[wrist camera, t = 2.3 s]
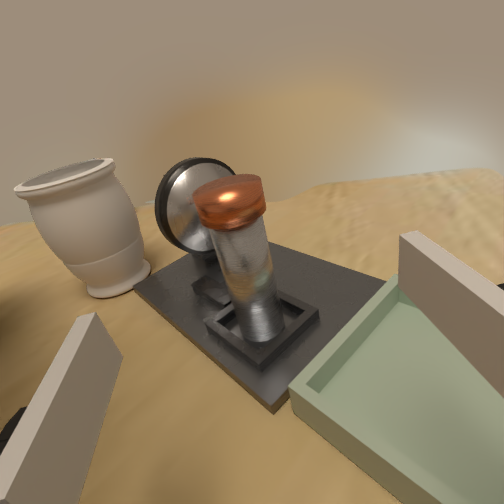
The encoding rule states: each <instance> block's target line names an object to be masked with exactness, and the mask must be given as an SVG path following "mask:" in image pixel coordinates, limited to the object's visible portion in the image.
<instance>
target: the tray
mask: <svg viewBox="0 0 504 504" xmlns="http://www.w3.org/2000/svg"><path fill="white" fill-rule="evenodd" d="M288 390H289V394H290V399H291V403H292V407H293V412H294V414H296V415H297V416H298V417H299V418H300V419H302V420H303V421H304V422H305V423H306V424H308V425H309V426H310V427H311V428H312V429H314V430H315V431H316V432H317V433H319V434H320V435H321V436H322V437H323V438H325V439H326V440H327V441H328V442H329V443H331V444H332V445H333V446H334V447H335V448H337V449H338V450H339V451H340V452H341V453H343V454H344V455H345V456H346V457H348V458H349V459H350V460H351V461H352V462H354V463H355V464H356V465H357V466H358V467H360V468H361V469H362V470H363V471H364V472H366V473H367V474H368V475H369V476H370V477H372V478H373V479H374V480H375V481H377V482H378V483H379V484H380V485H381V486H383V487H384V488H385V489H386V490H387V491H389V492H390V493H391V494H392V495H393V496H395V497H396V498H397V499H398V500H399V501H401V502H402V503H403V504H504V398H503V397H502V396H501V395H500V394H499V393H498V392H497V391H496V390H495V389H494V388H493V387H492V386H491V385H490V383H489V382H488V381H487V380H486V379H485V378H484V377H483V376H482V375H481V374H480V373H479V372H478V371H477V370H476V369H475V368H474V367H473V365H472V364H471V363H470V362H469V361H468V360H467V359H466V358H465V357H464V356H463V355H462V354H461V353H460V352H459V351H458V350H457V349H456V347H455V346H454V345H453V344H452V343H451V342H450V341H449V340H448V339H447V338H446V337H445V336H444V335H443V334H442V333H441V332H440V331H439V329H438V328H437V327H436V326H435V325H434V324H433V323H432V322H431V321H430V320H429V319H428V318H427V317H426V316H425V315H424V314H423V313H422V311H421V310H420V309H419V308H418V307H417V306H416V305H415V304H414V303H413V302H412V301H411V300H410V299H409V298H408V297H407V296H406V295H405V293H404V292H403V291H402V290H401V289H400V288H399V287H398V275H397V274H394V275H393V276H392V277H391V278H390V279H389V280H388V281H387V282H386V283H385V284H384V285H383V286H382V287H381V288H380V289H379V290H378V292H377V293H376V294H375V295H374V296H373V297H372V298H371V299H370V300H369V301H368V302H367V303H366V304H365V305H364V306H363V307H362V308H361V309H360V310H359V311H358V312H357V314H356V315H355V316H354V317H353V318H352V319H351V320H350V321H349V322H348V323H347V324H346V325H345V326H344V327H343V328H342V329H341V330H340V331H339V332H338V333H337V335H336V336H335V337H334V338H333V339H332V340H331V341H330V342H329V343H328V344H327V345H326V346H325V347H324V348H323V349H322V350H321V351H320V352H319V353H318V354H317V355H316V357H315V358H314V359H313V360H312V361H311V362H310V363H309V364H308V365H307V366H306V367H305V368H304V369H303V370H302V371H301V372H300V373H299V374H298V375H297V376H296V377H295V379H294V380H293V381H292V382H291V383H290V384H289V385H288Z"/></svg>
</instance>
